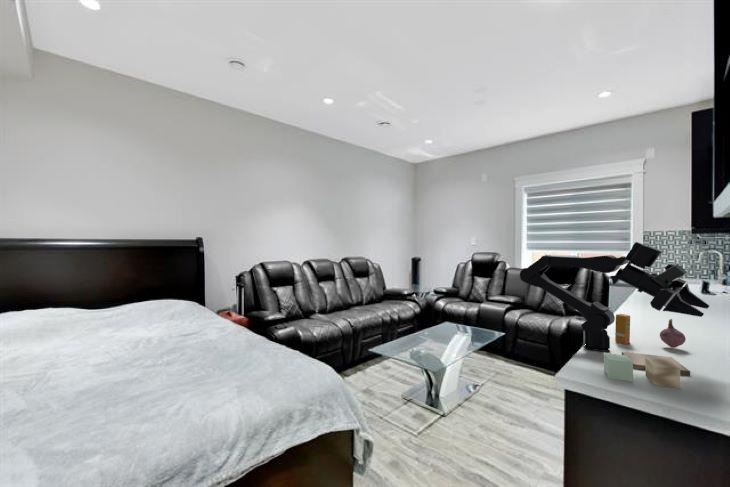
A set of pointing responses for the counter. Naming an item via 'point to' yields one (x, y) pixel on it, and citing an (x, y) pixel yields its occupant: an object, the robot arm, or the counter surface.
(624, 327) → the supplement box
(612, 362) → the sage green brick
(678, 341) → the vegetable
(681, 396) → the counter surface
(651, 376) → the beech brick
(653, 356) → the walnut baseboard
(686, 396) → the counter surface
